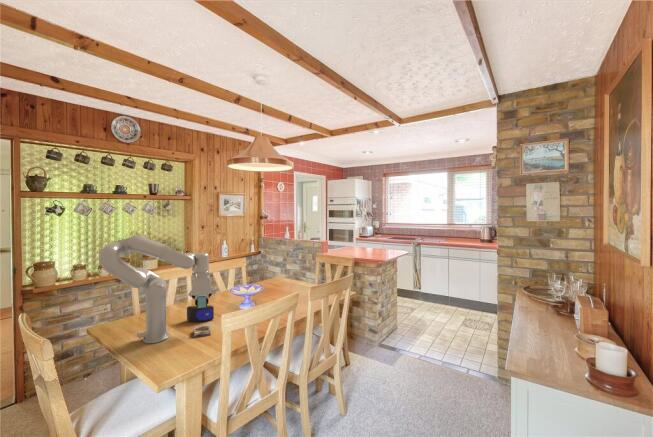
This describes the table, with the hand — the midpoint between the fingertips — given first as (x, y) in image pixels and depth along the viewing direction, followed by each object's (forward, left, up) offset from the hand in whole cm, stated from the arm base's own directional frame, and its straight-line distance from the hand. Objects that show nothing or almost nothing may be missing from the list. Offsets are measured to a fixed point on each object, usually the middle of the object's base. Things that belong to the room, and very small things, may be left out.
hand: (201, 305), depth 169 cm
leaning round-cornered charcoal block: (-1, +18, -15) cm, 23 cm away
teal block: (0, 0, -1) cm, 1 cm away
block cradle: (0, -3, -15) cm, 15 cm away
